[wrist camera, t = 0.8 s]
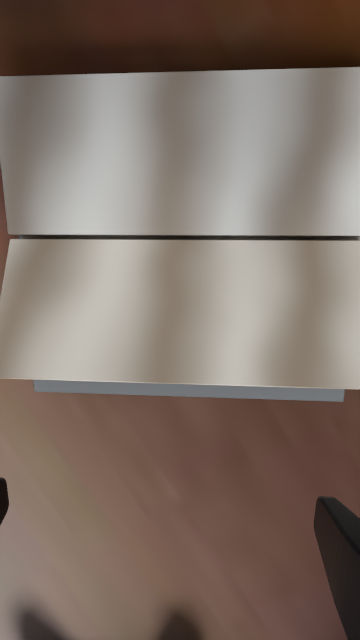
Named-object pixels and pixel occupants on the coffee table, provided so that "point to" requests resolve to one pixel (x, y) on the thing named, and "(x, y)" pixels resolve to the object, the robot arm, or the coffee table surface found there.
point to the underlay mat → (189, 389)
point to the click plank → (183, 312)
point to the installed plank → (183, 155)
